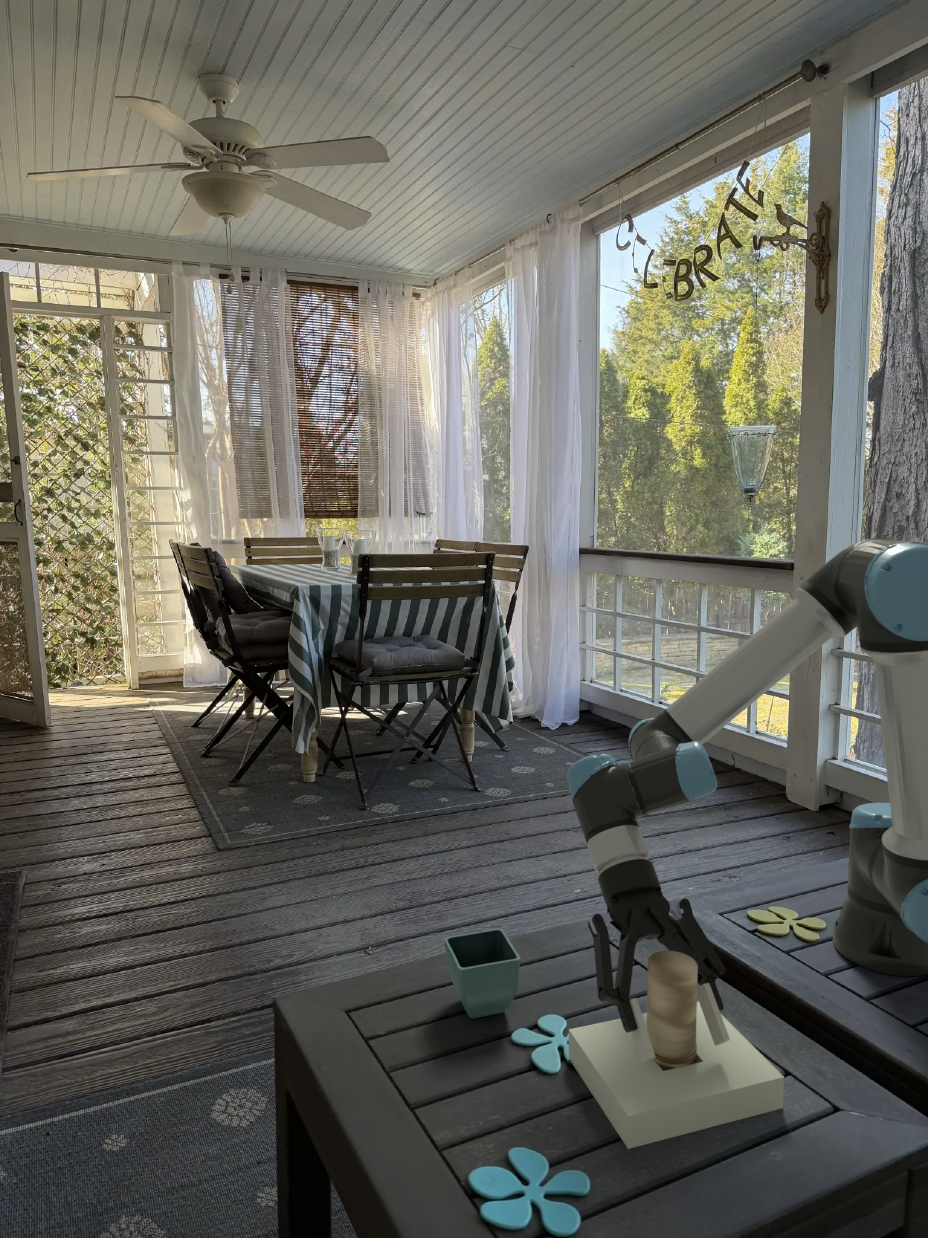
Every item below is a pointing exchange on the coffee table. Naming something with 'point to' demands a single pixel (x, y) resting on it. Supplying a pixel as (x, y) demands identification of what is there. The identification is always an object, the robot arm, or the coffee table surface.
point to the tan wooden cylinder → (672, 1008)
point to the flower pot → (483, 971)
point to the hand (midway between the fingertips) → (685, 1051)
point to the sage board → (673, 1082)
